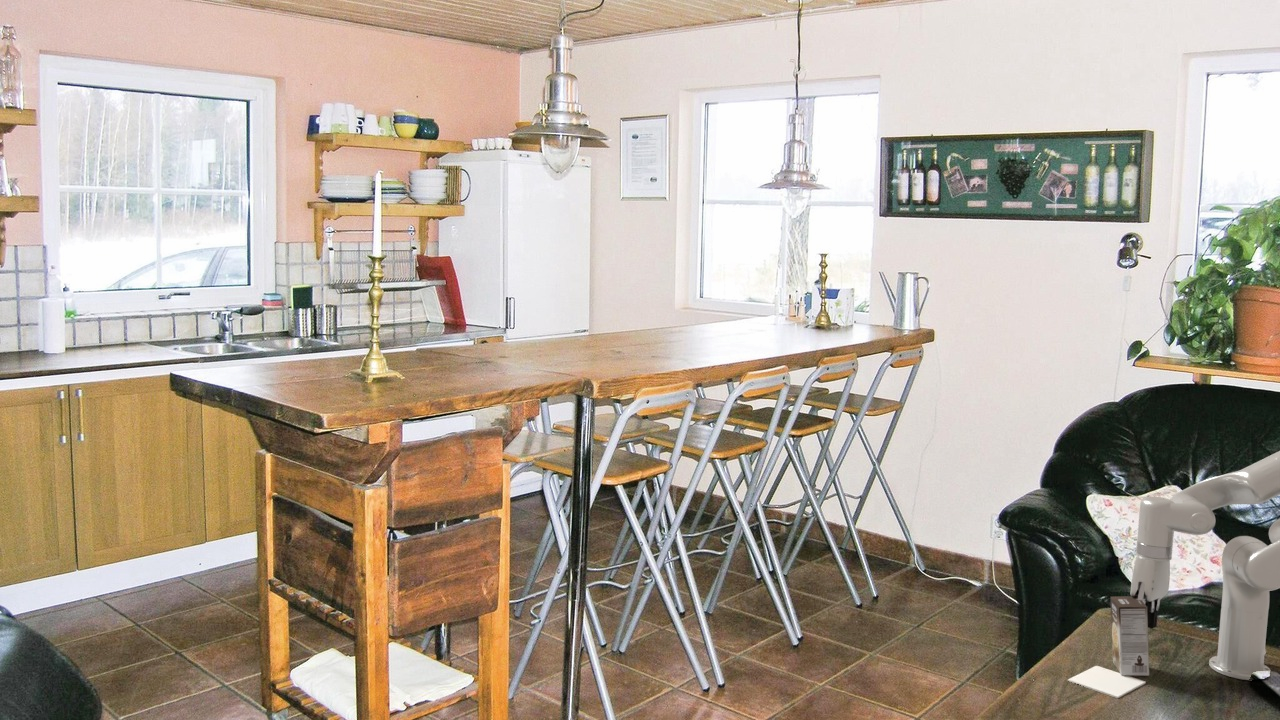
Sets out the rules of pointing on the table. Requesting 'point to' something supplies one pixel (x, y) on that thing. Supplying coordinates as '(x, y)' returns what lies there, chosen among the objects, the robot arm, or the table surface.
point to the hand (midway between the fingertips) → (1148, 626)
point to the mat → (1107, 681)
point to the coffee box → (1130, 635)
